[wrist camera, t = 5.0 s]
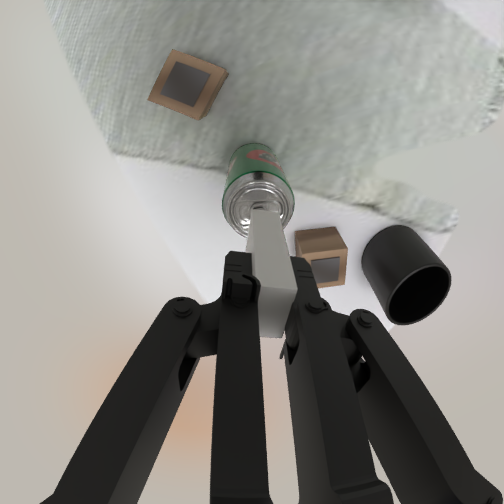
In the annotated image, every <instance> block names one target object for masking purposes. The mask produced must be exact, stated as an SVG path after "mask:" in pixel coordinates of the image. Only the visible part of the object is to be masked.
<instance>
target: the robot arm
mask: <svg viewBox="0 0 504 504" xmlns="http://www.w3.org/2000/svg"><path fill="white" fill-rule="evenodd" d="M284 331H285V335H286V339H285V342H284V345H283V348H282V351H281V354H280V359H282V358H283V355H284V357H285V366H286V374H287V382H288V391H289V400H290V408H291V417H292V426H293V436H294V445H295V455H296V465H297V475H298V486H299V503H298V504H394V503H393V497H392V493H391V490H390V488H389V487H388V485H387V484H386V483H384V482H383V481H381V480H379V479H378V477H377V475H376V472H375V468H374V463H373V458H372V453H371V449H370V445H369V441H370V443H371V445H372V447H373V449H374V451H375V453H376V455H377V457H378V459H379V461H380V463H381V465H382V467H383V469H384V471H385V473H386V475H387V477H388V479H389V481H390V483H391V485H392V487H393V489H394V491H395V493H396V495H397V497H398V499H399V501H400V503H401V504H502V503H503V498H502V494H501V492H500V491H499V490H498V489H497V488H496V487H495V486H493V485H492V484H491V483H490V482H489V481H487V480H486V479H485V478H484V477H483V476H482V475H481V474H479V473H478V472H477V471H476V470H475V469H474V467H473V465H472V464H471V462H470V460H469V458H468V456H467V455H466V453H465V451H464V449H463V447H462V445H461V444H460V442H459V440H458V438H457V437H456V435H455V433H454V432H453V430H452V428H451V426H450V425H449V423H448V421H447V420H446V418H445V416H444V415H443V413H442V412H441V410H440V408H439V407H438V405H437V404H436V402H435V400H434V399H433V397H432V396H431V394H430V393H429V391H428V390H427V388H426V386H425V385H424V383H423V382H422V380H421V379H420V377H419V376H418V374H417V373H416V371H415V370H414V368H413V367H412V365H411V364H410V363H409V361H408V360H407V358H406V357H405V356H404V354H403V352H402V351H401V350H400V348H399V347H398V345H397V344H396V342H395V341H394V340H393V338H392V337H391V336H390V334H389V333H388V331H387V330H386V329H385V327H384V326H383V324H382V323H381V322H380V320H379V319H378V318H377V317H376V316H375V315H374V314H373V313H371V312H370V311H368V310H364V309H356V310H354V311H352V313H351V314H350V316H347V315H344V314H341V313H337V312H335V311H333V310H332V309H331V307H330V305H329V303H328V302H327V301H326V300H324V299H323V298H321V297H320V294H319V291H318V287H317V284H316V281H315V278H314V275H313V273H312V269H311V266H310V264H309V263H308V262H307V261H306V259H305V258H302V257H292V256H290V255H289V251H288V247H287V243H286V239H285V235H284V231H283V228H282V224H281V220H280V216H279V212H272V211H264V210H256V209H252V211H251V218H250V225H249V231H248V238H247V245H246V252H236V251H230V252H229V253H228V254H227V255H226V256H225V265H224V275H223V286H222V293H221V296H220V297H219V298H218V299H217V300H216V301H214V302H212V303H209V304H204V305H199V304H198V303H197V302H196V301H195V300H193V299H191V298H188V297H176V298H173V299H171V300H169V301H168V302H167V303H166V304H165V305H164V307H163V308H162V310H161V311H160V313H159V315H158V316H157V317H156V319H155V320H154V322H153V324H152V325H151V327H150V328H149V330H148V331H147V333H146V334H145V336H144V337H143V339H142V340H141V342H140V344H139V345H138V347H137V349H136V350H135V351H134V353H133V355H132V356H131V358H130V359H129V361H128V362H127V364H126V366H125V367H124V369H123V371H122V372H121V374H120V376H119V377H118V379H117V380H116V382H115V384H114V385H113V387H112V389H111V390H110V392H109V393H108V395H107V397H106V399H105V400H104V402H103V404H102V405H101V407H100V409H99V410H98V412H97V414H96V416H95V417H94V419H93V421H92V422H91V424H90V426H89V428H88V430H87V431H86V433H85V435H84V437H83V438H82V440H81V442H80V444H79V446H78V447H77V449H76V451H75V453H74V455H73V457H72V458H71V460H70V462H69V464H68V466H67V468H66V470H65V472H64V474H63V475H62V478H61V479H60V481H59V483H58V485H57V487H56V489H55V491H54V493H53V494H52V495H51V496H49V497H48V498H47V499H46V500H44V501H43V502H41V503H40V504H137V502H138V500H139V498H140V495H141V493H142V491H143V488H144V486H145V484H146V481H147V479H148V477H149V475H150V472H151V470H152V468H153V465H154V463H155V460H156V458H157V456H158V454H159V451H160V449H161V446H162V444H163V442H164V440H165V438H166V435H167V433H168V431H169V428H170V426H171V424H172V422H173V419H174V417H175V415H176V412H177V410H178V408H179V406H180V403H181V401H182V399H183V396H184V394H185V392H186V389H187V387H188V385H189V383H190V380H191V378H192V376H193V373H194V371H195V369H196V367H197V364H198V362H199V360H200V357H205V356H210V355H216V354H217V359H216V374H215V389H214V406H213V425H212V446H211V473H210V474H211V475H210V504H273V502H272V500H271V498H270V495H269V486H268V467H267V451H266V433H265V416H264V400H263V383H262V367H261V350H260V337H270V338H282V336H283V334H284ZM362 356H363V357H364V359H365V361H366V362H365V361H364V360H363V359H362V358H361V357H362ZM368 439H369V441H368Z"/></svg>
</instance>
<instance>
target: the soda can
mask: <svg viewBox="0 0 504 504" xmlns="http://www.w3.org/2000/svg"><path fill="white" fill-rule="evenodd" d="M294 205H295V202H294V195H293V192H292V190H291V188H290V185H289V183H288V181H287V179H286V177H285V174H284V172H283V170H282V168H281V166H280V164H279V162H278V160H277V157H276V156H275V154H274V153H273V151H272V150H271V149H269V148H268V147H266V146H264V145H262V144H257V143H251V144H246V145H244V146H242V147H240V148H239V149H237V150H236V151H235V152H234V154H233V155H232V157H231V160H230V164H229V169H228V174H227V179H226V184H225V189H224V194H223V199H222V210H223V214H224V217H225V218H226V220H227V222H228V223H229V224H230V226H231V227H232V228H233V229H234V230H235V231H236V232H237V233H239V234H240V235H242V236H244V237H246V238H248V231H249V225H250V218H251V211H252V209H256V210H264V211H272V212H279V216H280V220H281V224H282V228H283V229H284V228H285V227H286V225H287V224H288V222H289V220H290V219H291V217H292V214H293V211H294Z"/></svg>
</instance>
